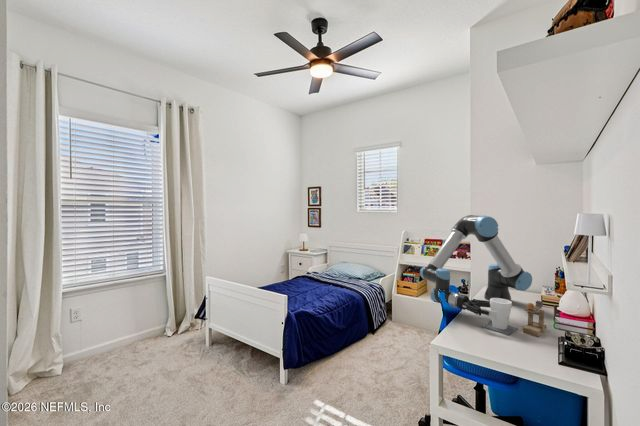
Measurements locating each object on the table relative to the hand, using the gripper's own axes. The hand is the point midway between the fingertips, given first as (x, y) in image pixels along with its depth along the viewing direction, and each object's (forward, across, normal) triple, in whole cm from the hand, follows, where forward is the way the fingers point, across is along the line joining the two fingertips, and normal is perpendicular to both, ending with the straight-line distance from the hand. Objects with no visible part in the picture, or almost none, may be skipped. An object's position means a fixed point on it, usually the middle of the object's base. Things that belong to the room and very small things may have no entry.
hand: (502, 311), depth 152 cm
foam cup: (-1, 0, -8) cm, 8 cm away
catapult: (+11, -8, -8) cm, 16 cm away
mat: (-1, 0, -8) cm, 8 cm away
